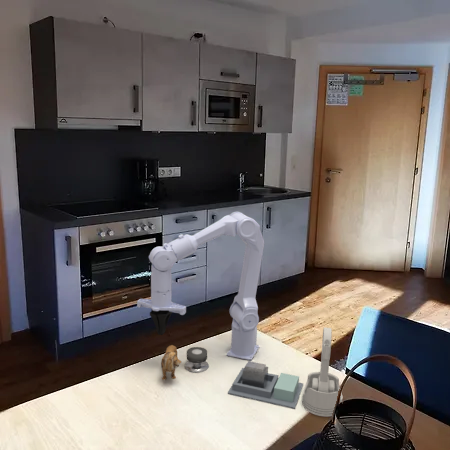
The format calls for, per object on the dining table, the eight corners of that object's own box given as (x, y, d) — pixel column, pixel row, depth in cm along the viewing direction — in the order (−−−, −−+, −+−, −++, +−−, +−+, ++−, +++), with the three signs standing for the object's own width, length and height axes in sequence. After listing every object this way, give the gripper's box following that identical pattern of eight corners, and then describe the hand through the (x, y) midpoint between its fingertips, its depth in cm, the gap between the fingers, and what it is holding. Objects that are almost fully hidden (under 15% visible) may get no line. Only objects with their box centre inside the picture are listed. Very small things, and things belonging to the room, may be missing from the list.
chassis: (241, 371, 135) (241, 361, 134) (303, 384, 129) (304, 373, 129) (227, 393, 124) (227, 382, 123) (294, 409, 118) (295, 397, 117)
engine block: (246, 379, 130) (247, 359, 129) (267, 383, 129) (268, 363, 127) (242, 387, 127) (242, 366, 125) (263, 391, 125) (264, 371, 123)
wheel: (191, 351, 140) (191, 345, 140) (210, 355, 138) (210, 349, 138) (183, 360, 135) (183, 354, 134) (202, 364, 133) (202, 358, 133)
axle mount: (190, 358, 142) (190, 351, 141) (212, 362, 139) (212, 356, 139) (180, 369, 135) (180, 362, 135) (203, 374, 133) (203, 367, 132)
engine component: (301, 413, 117) (342, 419, 115) (306, 337, 112) (349, 342, 110) (302, 389, 127) (340, 394, 125) (308, 319, 123) (347, 323, 121)
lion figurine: (181, 386, 127) (181, 355, 125) (161, 387, 126) (161, 356, 124) (177, 359, 141) (178, 331, 139) (159, 360, 140) (160, 332, 138)
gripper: (131, 289, 131) (132, 334, 134) (178, 297, 127) (178, 343, 129) (143, 282, 138) (144, 325, 141) (189, 289, 133) (188, 333, 136)
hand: (161, 333), depth 135 cm, fingers closed
